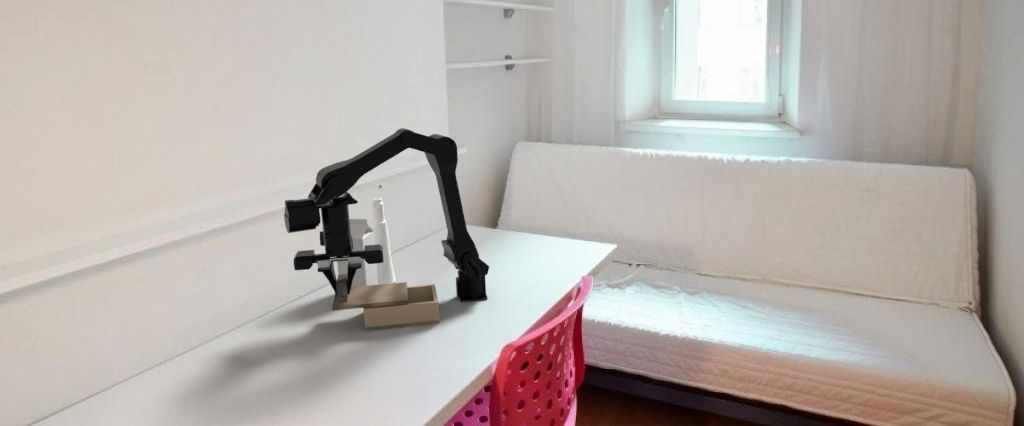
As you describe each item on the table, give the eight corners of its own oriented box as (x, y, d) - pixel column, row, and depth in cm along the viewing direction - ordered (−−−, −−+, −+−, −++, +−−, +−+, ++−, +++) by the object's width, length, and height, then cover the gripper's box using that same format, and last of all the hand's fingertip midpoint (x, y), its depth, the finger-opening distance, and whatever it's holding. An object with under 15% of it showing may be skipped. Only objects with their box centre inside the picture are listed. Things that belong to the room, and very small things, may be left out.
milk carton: (367, 298, 175) (360, 222, 170) (340, 297, 176) (332, 222, 172) (378, 288, 181) (372, 215, 177) (352, 287, 183) (345, 215, 178)
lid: (406, 285, 167) (405, 265, 166) (408, 303, 155) (407, 282, 154) (336, 291, 164) (334, 271, 163) (332, 310, 153) (330, 289, 152)
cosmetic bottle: (381, 276, 190) (374, 195, 185) (400, 279, 188) (394, 197, 183) (367, 284, 185) (360, 200, 180) (387, 286, 182) (380, 202, 177)
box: (435, 304, 169) (434, 284, 168) (439, 323, 158) (438, 301, 156) (366, 310, 167) (364, 290, 165) (365, 330, 155) (363, 309, 154)
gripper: (380, 213, 164) (385, 278, 168) (296, 220, 161) (303, 286, 165) (380, 225, 153) (386, 295, 157) (289, 233, 150) (297, 303, 154)
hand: (343, 294), depth 159 cm, fingers closed on lid, 2 cm apart
